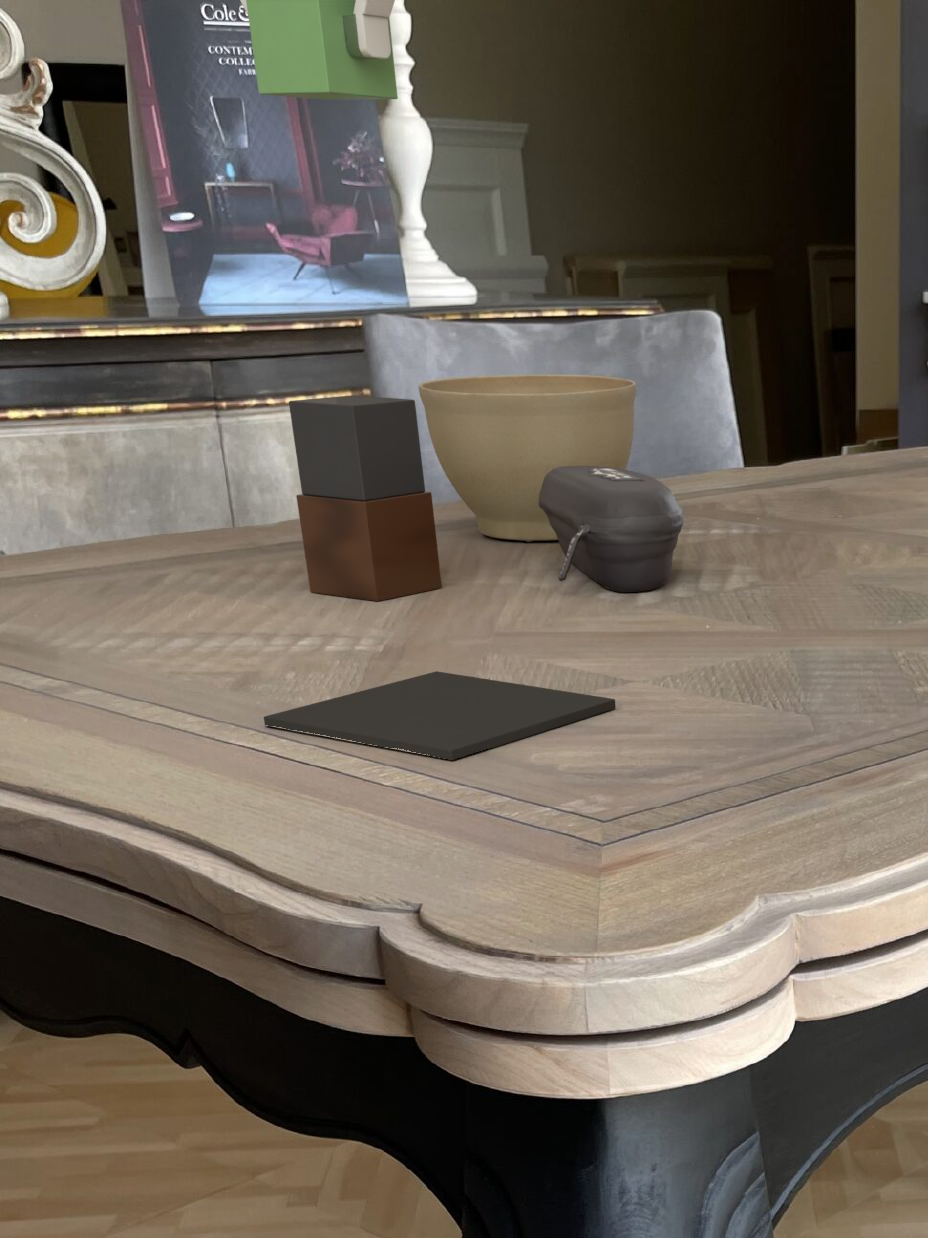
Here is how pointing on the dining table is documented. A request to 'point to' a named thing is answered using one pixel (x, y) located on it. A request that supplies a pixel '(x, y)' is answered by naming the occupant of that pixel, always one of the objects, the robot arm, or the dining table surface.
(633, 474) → the glasses case
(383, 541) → the walnut block
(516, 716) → the coaster
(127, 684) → the dining table surface
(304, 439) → the charcoal block
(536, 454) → the planter bowl
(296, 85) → the green block
